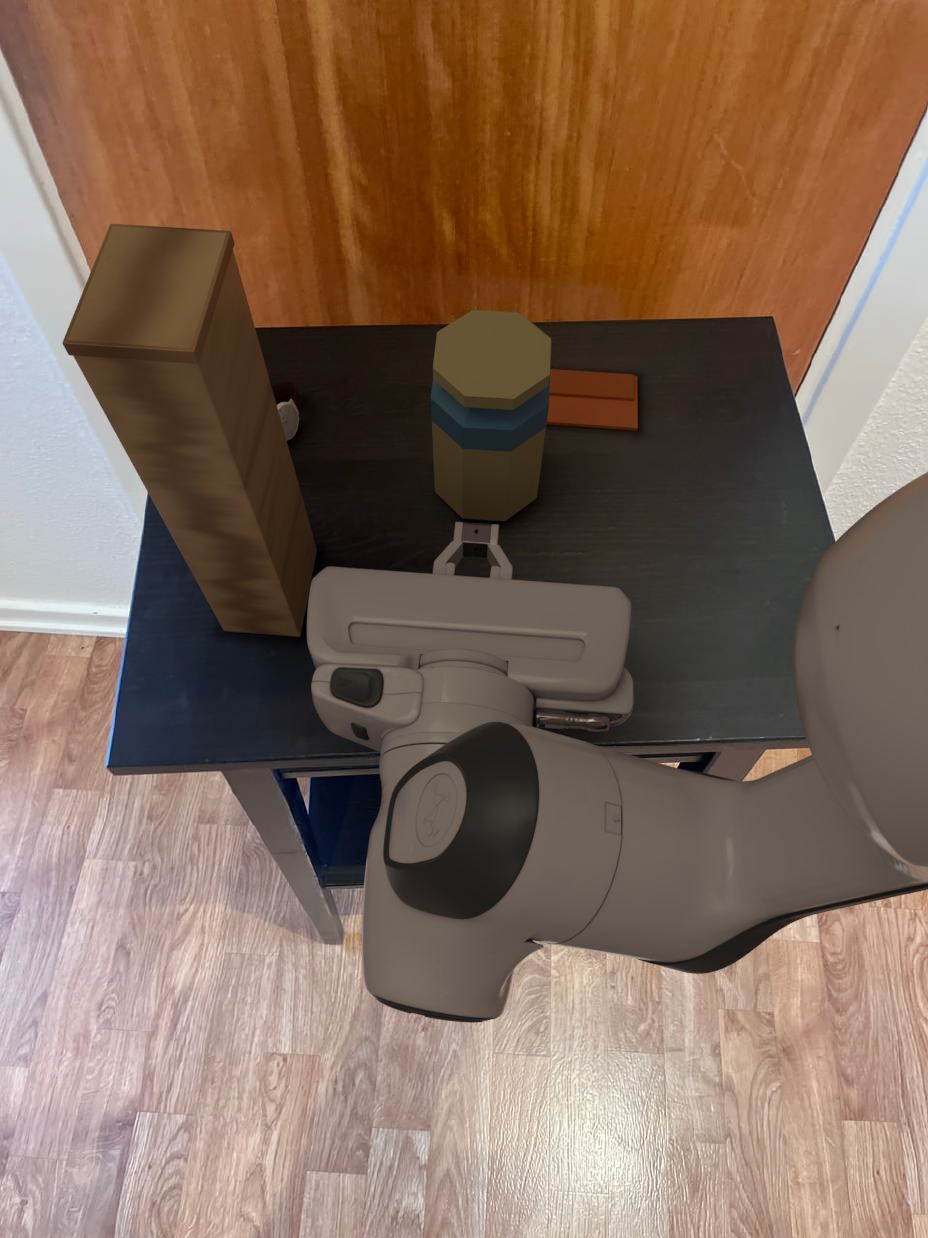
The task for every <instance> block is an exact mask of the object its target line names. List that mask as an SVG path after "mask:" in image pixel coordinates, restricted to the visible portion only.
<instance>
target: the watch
mask: <svg viewBox="0 0 928 1238" xmlns="http://www.w3.org/2000/svg"><path fill="white" fill-rule="evenodd" d="M271 387H272V390H273V394H274V398H275V401H276V402H277V401H279V400H281V399H284V398H286V397H291V398H290V399H289V400H288V401H281V402H279V403H278V404H276V405H277V408H278V412H279V416H280V419H281V423H282V426H283V430H284V433H285V437H286V441H287V442H288V441H289V440H291V439H292V438H293V437H294V436H295V435H296V433H297V431H298V427H299V421H300V417H299V416H300V411H301V409H302V407H303V399H302V396H301V393H300V391H299V388H298V386H297V384H296V383H295V382H294V381H291V380H285V381H279V382H276V383H274V384H271Z"/></svg>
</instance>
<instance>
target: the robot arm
mask: <svg viewBox="0 0 928 1238" xmlns="http://www.w3.org/2000/svg"><path fill="white" fill-rule="evenodd" d="M499 528H500V524H498V523H497V524H495V523H494V524H493V523H481V522H480V523H479V522H464V521H455V524H454V532H453V540H452V541H451V542H449V544H448V545H447V546H446V547H445V548H444V550H443V551H442V552H441V553H440V554H439V555H438V556H437V557H436V559H434V561H433V567H432V573H428V572H414V571H399V570H387V569H386V570H384V569H372V568H371V569H370V568H357V567H345V566H343V567H342V566H331V565H330V566H326V567H324V568H322V569H321V570H320V571H319V572H318V573H317V574H316V575H314V577H312V578H311V584H310V589H309V594H308V599H307V611H306V643H307V647H308V650H309V654H310V657H311V660H312V662H313V666H314V668H315V670H314V672H313V675H312V680H311V686H310V689H311V691H310V692H311V697H312V698H311V699H312V703H313V706H314V708H315V711H316V713H317V714H318V717H319V718H320V719H319V720H321V722H322V724H323V725H324V726H325V727H326V729H327V730H328V731H329V732H330V733H333V734H334V735H337V736H338V737H341V738H343V739H347V740H349V741H351V742H353V743H356V744H359V745H361V746H364V747H367V748H369V749H371V750H374V751H376V752H378V753H380V755H379V764H378V770H379V779H380V784H381V785H380V786H381V799H380V806H379V810H378V814H377V815H376V818H375V821H374V823H373V825H372V827H371V829H370V833H369V839H368V845H367V853H366V861H365V871H364V880H363V892H362V893H363V894H362V911H361V965H362V976H363V982H364V983H363V984H364V987H365V990H366V991H367V992H368V993H369V994H370V995H371V996H373V997H374V998H375V999H376V1000H377V1001H378V1002H379V1003H381V1004H383V1005H384V1006H386V1007H389V1008H391V1009H393V1010H396V1011H400V1012H403V1013H407V1014H409V1015H411V1014H415V1015H419V1016H423V1017H425V1018H426V1019H427V1018H429V1019H433V1020H438V1021H439V1020H440V1021H445V1022H453V1023H469V1024H472V1023H475V1024H478V1023H483V1022H488V1021H491V1020H495V1019H498V1018H499V1017H501V1016H502V1015H503V1014H504V1013H505V1010H506V1007H507V1004H508V1001H509V997H510V993H511V987H512V983H513V978H514V974H515V973H514V972H515V969H516V968H517V967H518V966H519V965H520V964H521V963H522V962H523V961H524V960H525V959H527V958H528V957H529V956H531V955H532V954H534V953H535V952H537V951H540V950H542V949H544V948H545V946H544V945H543V944H542V943H544V944H548V945H553V946H559V947H564V948H570V949H578V950H582V951H583V950H584V951H590V952H595V953H599V954H600V953H601V954H608V955H614V956H619V957H625V958H631V959H636V960H638V961H641V962H644V963H648V964H651V965H654V966H655V965H656V966H659V967H663V968H667V969H671V970H674V971H679V972H682V973H686V974H691V975H702V974H710V973H714V972H719V971H721V970H723V969H725V968H728V967H729V966H732V965H733V964H735V963H737V962H738V961H740V960H742V959H743V958H745V957H746V956H747V955H749V954H750V953H751V952H753V951H754V950H755V949H756V948H758V947H759V946H760V945H761V944H762V943H764V942H765V941H767V940H768V939H769V938H771V937H772V936H773V935H774V934H776V933H778V932H779V931H781V930H782V929H784V928H785V927H787V926H789V925H792V924H794V923H795V922H797V921H800V920H802V919H805V918H808V917H811V916H814V915H818V914H823V913H827V912H831V911H835V910H841V909H845V908H850V907H854V906H860V905H863V904H867V903H872V902H877V901H882V900H887V899H890V898H891V899H892V898H895V897H900V896H905V895H909V894H913V893H918V892H923V891H928V471H926V472H925V473H922V474H921V475H919V476H918V477H916V478H914V479H913V480H911V481H909V482H908V483H906V484H905V485H902V486H901V487H900V488H898V489H896V490H895V491H894V492H893V493H891V494H889V495H888V496H886V497H885V498H884V499H883V500H881V501H880V502H879V503H878V504H877V503H876V504H875V506H874V507H872V508H871V509H869V511H867V512H866V513H865V514H864V515H862V516H861V517H860V518H859V519H858V520H857V521H856V522H855V523H853V524H852V525H851V526H850V527H849V528H848V529H847V530H845V532H843V534H841V535H840V537H838V538H837V540H835V541H834V543H832V545H831V546H830V547H829V548H828V549H827V550H826V551H825V552H824V553H823V554H822V555H821V557H820V559H819V560H818V562H817V565H816V567H815V569H814V571H813V573H812V576H811V577H810V579H809V581H808V584H807V587H806V590H805V592H804V594H803V598H802V600H801V603H800V607H799V610H798V615H797V619H796V624H795V627H794V633H793V645H792V659H791V660H792V677H793V679H792V680H793V689H794V696H795V701H796V706H797V711H798V716H799V720H800V723H801V727H802V730H803V734H804V737H805V740H806V743H807V746H808V748H809V751H810V753H811V754H810V755H808V756H806V757H804V758H802V759H800V760H797V761H795V762H793V763H790V764H788V765H786V766H783V767H782V768H779V769H776V770H775V771H772V772H770V773H768V774H766V775H763V776H760V777H759V778H756V779H752V780H735V779H731V778H728V777H723V776H719V775H715V774H711V773H706V772H702V771H698V770H691V769H682V768H678V767H674V766H672V765H671V766H670V765H667V764H663V763H660V762H656V761H652V760H649V759H646V758H643V757H639V756H636V755H632V754H628V753H624V752H621V751H618V750H614V749H610V748H606V747H603V746H599V745H596V744H593V743H591V742H588V741H585V740H582V739H578V738H574V737H570V736H568V735H564V734H560V733H557V732H553V731H549V730H559V731H560V730H562V731H563V730H580V731H581V730H582V731H585V732H587V733H593V734H595V733H598V734H599V733H607V732H608V731H609V728H612V727H618V726H619V725H622V724H624V723H625V722H626V721H627V720H628V719H629V718H630V716H631V715H632V714H633V711H634V708H635V684H634V679H633V677H632V674H631V673H630V672H629V670H628V669H627V668H626V666H625V661H626V657H627V651H628V646H629V640H630V633H631V623H632V602H631V600H630V599H629V598H628V597H627V595H626V594H625V592H623V590H622V589H621V588H620V587H617V586H609V585H594V584H593V585H592V584H579V583H578V584H577V583H564V582H551V581H536V580H526V579H525V580H524V579H513V565H512V564H511V562H510V560H509V559H508V556H506V554H505V551H504V550H503V548H502V547H501V545H500V544H499V532H500V531H499V530H500V529H499ZM464 557H468V558H481V559H487V561H488V563H489V566H490V575H489V577H481V576H468V575H457V574H456V567H457V566H458V564H459V563H460V562H461V561H462V559H463V558H464ZM610 718H613V719H610ZM545 729H546V730H545ZM539 942H540V943H539Z"/></svg>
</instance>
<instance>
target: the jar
mask: <svg viewBox="0 0 928 1238" xmlns="http://www.w3.org/2000/svg"><path fill="white" fill-rule="evenodd" d="M434 346H435V347H434V355H433V362H432V383H431V384H432V386H431V392H430V413H431V414H430V415H431V433H432V434H431V435H432V457H433V459H432V460H433V479H434V482H433V483H434V493H435V494H437V495H438V497H440V498H441V500H442V501H444V502H445V504H447V505H448V506H449V507H450V508H451V509H452V511H454V512H455V513H456V514H457V515H458V516H459V517H460V518H461V519H467V520H481V521H483V520H484V521H497V522H498V521H500V522H506V521H508V520H509V519H510V518H511V517H513V516H514V515H516V514H517V513H518V512H520V511H521V510H522V509H524V508H525V507H527V506H528V505H529V504H531V503H532V502H533V501H535V500H537V497H538V490H539V484H540V477H541V470H542V461H543V454H544V447H545V438H546V431H547V418H548V410H549V397H550V369H552V368H551V358H552V357H551V356H552V355H551V354H552V338H551V337H550V336H549V335H547V334H546V333H545V332H544V331H543V330H542V329H540V328H539V327H538V326H536V324H534V323H533V322H532V321H530V320H529V319H528V318H527V317H525V316H524V315H523V314H522V313H521V312H517V311H499V310H482V309H481V310H480V309H472V310H470V311H468V312H467V313H465V314H464V315H462V316H460V317H459V318H457V319H456V320H454V321H453V322H451V323H449V324H448V325H446V326H444V327H443V328H441V329H440V330H438V331H437V332H436V338H435V345H434Z"/></svg>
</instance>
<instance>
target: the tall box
mask: <svg viewBox="0 0 928 1238" xmlns="http://www.w3.org/2000/svg"><path fill="white" fill-rule="evenodd" d="M234 248H235V240H234V238H233V234H232V231H231V230H223V229H221V230H220V229H204V228H189V227H188V228H187V227H176V226H175V227H173V226H172V227H171V226H158V225H157V226H156V225H155V226H154V225H140V224H139V225H138V224H124V223H122V224H121V223H110V224H109V225H108V228H107V231H106V233H105V236H104V238H103V240H102V243H101V246H100V248H99V251H98V253H97V255H96V258H95V261H94V263H93V266H92V268H91V270H90V273H89V275H88V278H87V280H86V283H85V285H84V288H83V290H82V293H81V294H80V297H79V300H78V302H77V306H76V308H75V310H74V312H73V315H72V318H71V320H70V323H69V325H68V328H67V330H66V332H65V335H64V337H63V339H62V345H63V348H64V350H65V351H66V353H67V355H68V356H71V357H72V356H73V358H74V360H75V362H76V364H77V365H78V368H79V369H80V371H81V373H82V375H83V376H84V378H85V380H86V382H87V384H88V386H89V387H90V389H91V391H92V393H93V395H94V397H95V398H96V400H97V402H98V404H99V406H100V407H101V409H102V411H103V413H104V415H105V417H106V418H107V420H108V422H109V424H110V426H111V427H112V430H113V432H114V433H115V435H116V437H117V439H118V440H119V442H120V444H121V446H122V448H123V449H124V451H125V453H126V455H127V457H128V459H129V460H130V462H131V464H132V466H133V467H134V470H135V471H136V473H137V475H138V477H139V479H140V481H141V482H142V484H143V486H144V488H145V490H146V492H147V493H148V495H149V497H150V499H151V501H152V502H153V504H154V506H155V508H156V510H157V512H158V514H159V515H160V517H161V519H162V521H163V523H164V524H165V526H166V529H167V530H168V532H169V533H170V535H171V537H172V539H173V541H174V543H175V544H176V546H177V548H178V550H179V552H180V554H181V555H182V557H183V559H184V561H185V563H186V564H187V566H188V568H189V570H190V572H191V573H192V576H193V577H194V579H195V581H196V583H197V584H198V586H199V589H200V590H201V592H202V594H203V595H204V597H205V599H206V601H207V603H208V605H209V607H210V608H211V610H212V612H213V614H214V616H215V618H216V619H217V621H218V623H219V625H220V626H221V628H222V630H223V632H231V633H245V634H256V635H257V634H258V635H259V634H260V635H271V636H283V637H298V638H300V637H301V636H302V631H303V630H302V629H303V626H304V619H305V615H306V609H307V606H308V600H309V592H310V586H311V582H312V579H313V572H314V568H315V564H316V563H315V562H316V557H317V553H318V548H317V545H316V541H315V539H314V538H315V537H314V535H313V530H312V527H311V523H310V520H309V517H308V512H307V509H306V506H305V502H304V498H303V495H302V492H301V488H300V484H299V480H298V476H297V473H296V470H295V466H294V463H293V460H292V456H291V451H290V449H289V444H288V440H287V441H286V437H285V433H284V430H283V426H282V423H281V419H280V416H279V412H278V408H277V405H278V404H277V401H275V398H274V394H273V390H272V387H271V386H272V384H271V380H270V377H269V373H268V370H267V366H266V362H265V359H264V355H263V351H262V348H261V344H260V341H259V337H258V333H257V330H256V327H255V322H254V320H253V316H252V312H251V308H250V305H249V302H248V298H247V295H246V291H245V287H244V284H243V280H242V276H241V272H240V269H239V266H238V261H237V258H236V255H235V252H234Z"/></svg>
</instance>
